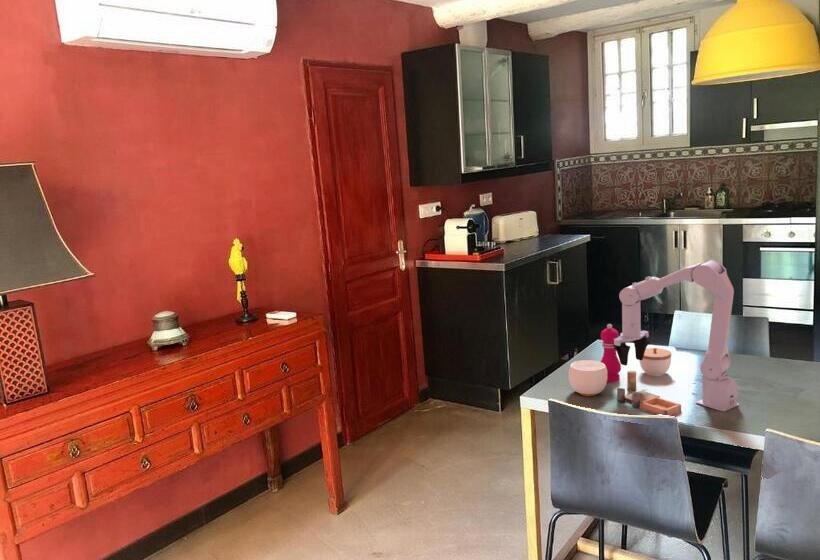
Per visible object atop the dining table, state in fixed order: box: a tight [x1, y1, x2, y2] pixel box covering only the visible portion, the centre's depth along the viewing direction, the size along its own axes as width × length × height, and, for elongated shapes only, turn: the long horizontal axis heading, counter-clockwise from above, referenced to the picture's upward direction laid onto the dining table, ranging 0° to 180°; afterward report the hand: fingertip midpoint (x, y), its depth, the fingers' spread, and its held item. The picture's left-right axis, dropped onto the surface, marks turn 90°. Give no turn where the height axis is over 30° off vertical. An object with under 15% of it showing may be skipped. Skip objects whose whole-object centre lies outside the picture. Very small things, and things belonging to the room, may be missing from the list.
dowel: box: [626, 370, 637, 392], centre depth 224 cm, size 3×3×6 cm
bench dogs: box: [616, 387, 641, 409], centre depth 211 cm, size 8×2×4 cm, turn 32°
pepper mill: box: [600, 323, 622, 384], centre depth 232 cm, size 7×7×20 cm
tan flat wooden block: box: [625, 389, 660, 404], centre depth 215 cm, size 7×9×2 cm
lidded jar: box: [638, 347, 672, 377], centre depth 237 cm, size 11×11×9 cm
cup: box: [568, 359, 608, 397], centre depth 222 cm, size 12×12×10 cm
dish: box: [639, 396, 682, 416], centre depth 205 cm, size 9×7×2 cm
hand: (631, 362), depth 222 cm, fingers open, 7 cm apart
